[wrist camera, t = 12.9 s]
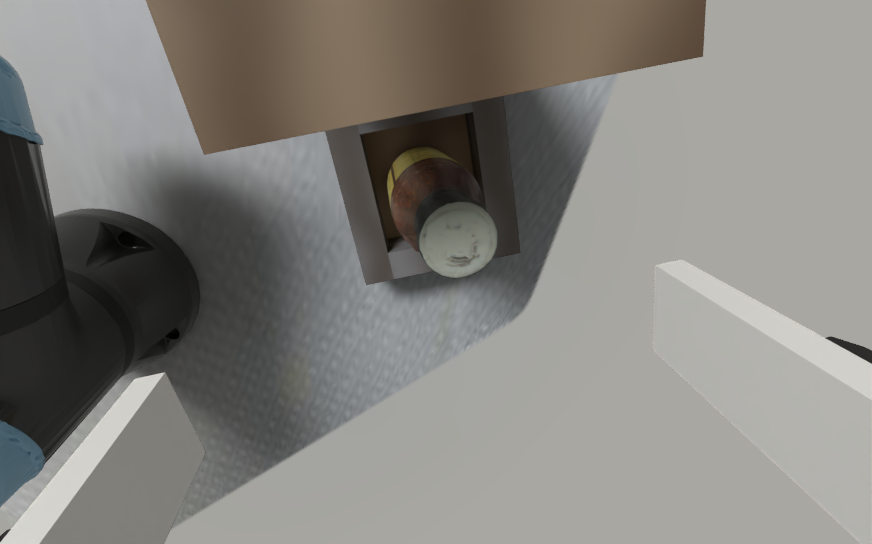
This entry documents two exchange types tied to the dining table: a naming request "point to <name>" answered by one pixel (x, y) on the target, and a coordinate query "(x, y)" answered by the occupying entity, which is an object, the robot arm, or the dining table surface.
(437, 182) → the sauce bottle
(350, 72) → the stand
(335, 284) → the dining table surface
